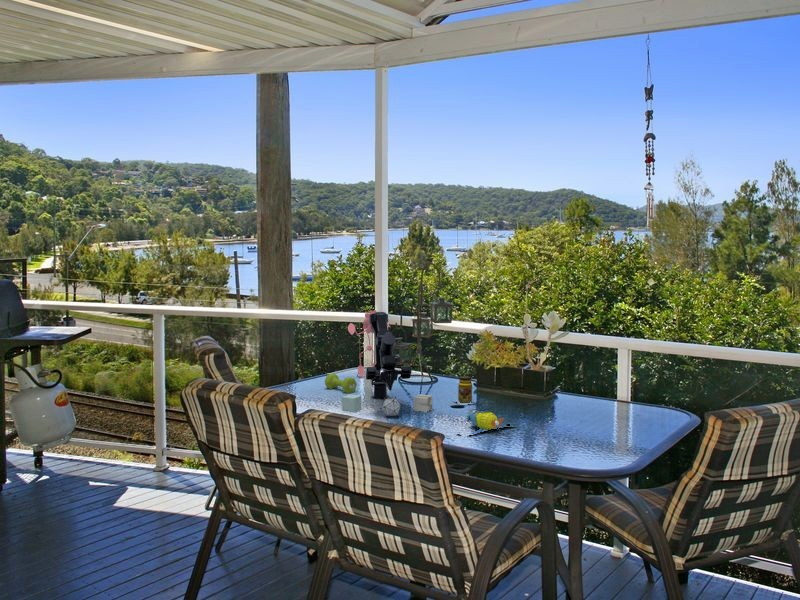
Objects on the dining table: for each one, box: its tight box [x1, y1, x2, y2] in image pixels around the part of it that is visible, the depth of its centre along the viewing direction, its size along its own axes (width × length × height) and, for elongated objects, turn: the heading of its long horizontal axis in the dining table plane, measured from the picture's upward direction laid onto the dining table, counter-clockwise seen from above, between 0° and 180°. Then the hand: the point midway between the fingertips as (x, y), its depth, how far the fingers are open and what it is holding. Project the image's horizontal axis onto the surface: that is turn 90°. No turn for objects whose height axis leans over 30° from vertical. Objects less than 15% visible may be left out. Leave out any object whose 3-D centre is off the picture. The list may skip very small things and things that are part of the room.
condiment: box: [457, 375, 473, 403], centre depth 334 cm, size 7×8×12 cm
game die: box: [379, 396, 404, 419], centre depth 310 cm, size 9×8×10 cm
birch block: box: [413, 394, 433, 413], centre depth 321 cm, size 6×6×6 cm
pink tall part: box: [347, 309, 391, 378], centre depth 389 cm, size 15×26×35 cm, turn 134°
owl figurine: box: [466, 409, 505, 431], centre depth 290 cm, size 28×9×15 cm
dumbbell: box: [324, 373, 358, 394], centre depth 359 cm, size 16×8×7 cm, turn 45°
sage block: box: [341, 393, 362, 413], centre depth 320 cm, size 6×6×6 cm
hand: (390, 389), depth 309 cm, fingers closed
